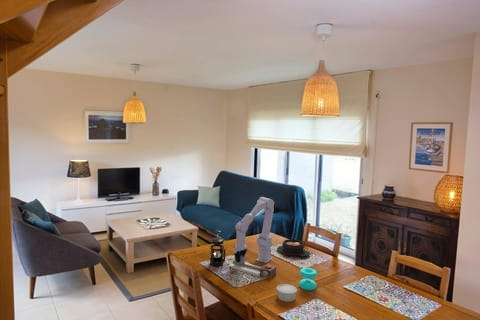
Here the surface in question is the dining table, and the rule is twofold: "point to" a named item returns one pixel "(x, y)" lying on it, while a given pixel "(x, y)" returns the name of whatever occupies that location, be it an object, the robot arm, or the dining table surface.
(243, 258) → the carriage
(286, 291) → the ramekin
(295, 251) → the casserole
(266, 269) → the cabinet
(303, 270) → the donuts
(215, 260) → the french press
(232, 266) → the rail
